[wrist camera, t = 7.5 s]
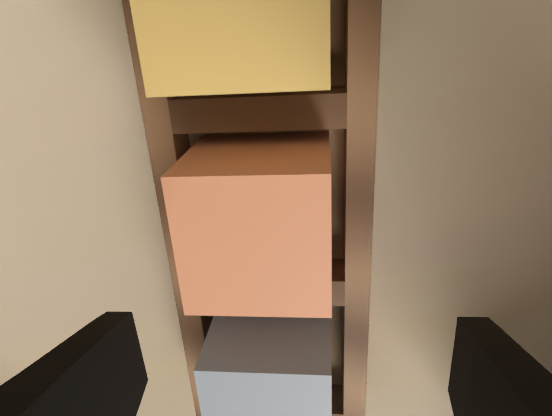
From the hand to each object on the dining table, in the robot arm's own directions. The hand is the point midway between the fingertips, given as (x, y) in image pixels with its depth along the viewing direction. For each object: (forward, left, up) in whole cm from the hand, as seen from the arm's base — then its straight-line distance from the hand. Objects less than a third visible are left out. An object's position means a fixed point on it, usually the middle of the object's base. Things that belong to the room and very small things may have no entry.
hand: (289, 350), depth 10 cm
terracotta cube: (0, +2, -9) cm, 9 cm away
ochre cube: (+8, +2, -9) cm, 12 cm away
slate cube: (-7, +2, -9) cm, 12 cm away
